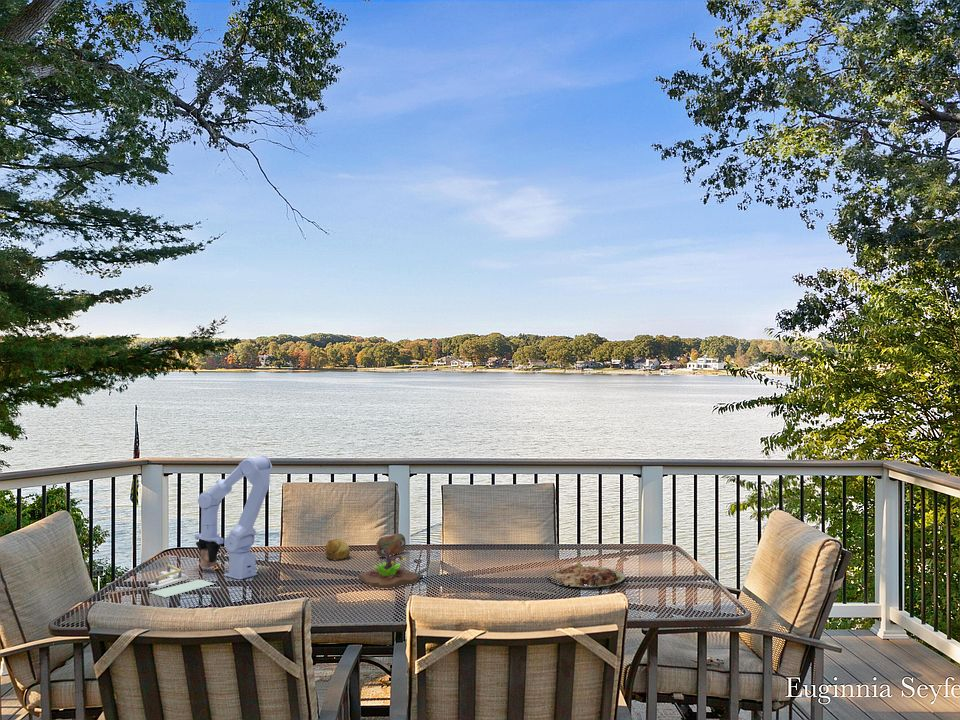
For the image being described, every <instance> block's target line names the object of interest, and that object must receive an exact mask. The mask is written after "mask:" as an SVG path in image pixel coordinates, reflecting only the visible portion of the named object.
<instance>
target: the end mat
mask: <svg viewBox="0 0 960 720" xmlns="http://www.w3.org/2000/svg"><path fill="white" fill-rule="evenodd" d="M214 584H216V583H215V582H211V581H206V580H203V579H196V580H192V581H188V582H184V583H181V584H175V585H171V586H168V587H165V588H162V589H155V590H153V591H149V593H152V594H151V595H153V594H155V595H154V596H156V595H158V596H157V597H159V596H162V597H161V598H163V597H164V598H163V599H167V598H166V597H168V598H171V597H170V596H172V597H175V596H179V595H183V594H186V593H185V592H187V593H190V592H193V591H192V590H194V591H197V590H196V589H198V590H201V589H200V588H202V589H204V588H203V587H205V588H207V587H206V586H209V587H211V586H210V585H213V586H215V585H214ZM189 591H190V592H189ZM182 593H183V594H182ZM178 594H179V595H178ZM174 595H175V596H174Z"/></svg>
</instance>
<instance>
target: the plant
mask: <svg viewBox="0 0 960 720" xmlns="http://www.w3.org/2000/svg"><path fill="white" fill-rule="evenodd" d="M382 553H383V554H385V553H386V557H387V558H385V559H386V560H385V561H384V562H382V563H380V562H379V564H378V565H373V567H374V568H376V569H372V570H368V571H363V572H360V573H359V574H358V580H359V579H361V580H362V581H363V582H365V583H366V585H370V586H371V587H379V588H393V587H397V586H401V585H407V584H413V583H415V582H417V581H418V580H419V581H420V576H419V575H418V574H416V573H415V572H414V571H410V570H407V569H405V568H403V567H400V565H402V563H401V562H398V563H395V560H396V559H397V558H398V559H399V561H403V560H404V557H403V556H402V555H395V556H393V557H389V555H388V551H387V550H386V549H384V550H383V551H382ZM419 581H418V582H419ZM418 582H417V583H418ZM413 585H414V584H413Z"/></svg>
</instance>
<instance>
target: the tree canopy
mask: <svg viewBox="0 0 960 720" xmlns="http://www.w3.org/2000/svg"><path fill="white" fill-rule="evenodd" d="M406 545H407V544H406V538H405V536H404V535H403V534H401V533H393V534H388V535H385V536H381V537H379V539H377V542H376V546H375V547H376V548H375V549H376V554H377V555H378V556H379V557H380V556H382V557H381V558H384V557H385V556H386V553H385V554H383V553H382V551H383V550H384V549H386V550H387V551H388V555H393V554H397V553H401V552H402V553H403V552H404V551H405V549H406ZM402 553H401V554H402Z"/></svg>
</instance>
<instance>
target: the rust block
mask: <svg viewBox="0 0 960 720" xmlns="http://www.w3.org/2000/svg"><path fill="white" fill-rule="evenodd" d="M217 559H218V556H217V557H216V561H215V562H211V563H210V562H209V553H208V549H202V550H201V554H200V567H203V568H212V567H215V566H217V564H218V562H217V561H218V560H217Z"/></svg>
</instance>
